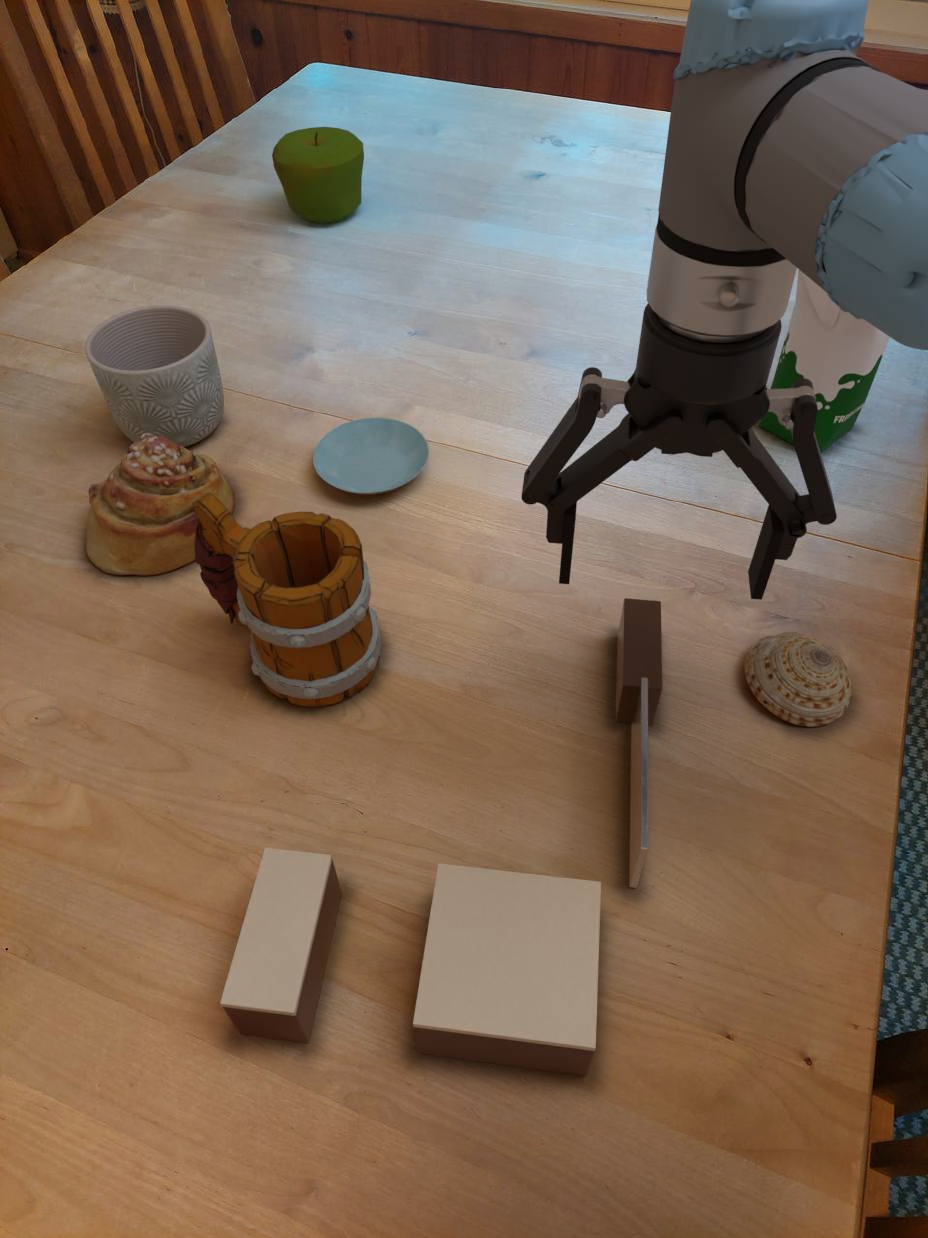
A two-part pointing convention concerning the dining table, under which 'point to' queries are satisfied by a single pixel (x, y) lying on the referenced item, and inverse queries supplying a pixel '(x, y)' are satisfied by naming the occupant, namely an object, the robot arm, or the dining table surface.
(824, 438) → the milk carton
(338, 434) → the saucer
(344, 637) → the mug
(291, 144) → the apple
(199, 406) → the planter
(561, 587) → the dining table surface
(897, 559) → the dining table surface
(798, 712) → the seashell
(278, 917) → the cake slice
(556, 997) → the beige square block
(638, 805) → the knife
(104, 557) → the pastry
